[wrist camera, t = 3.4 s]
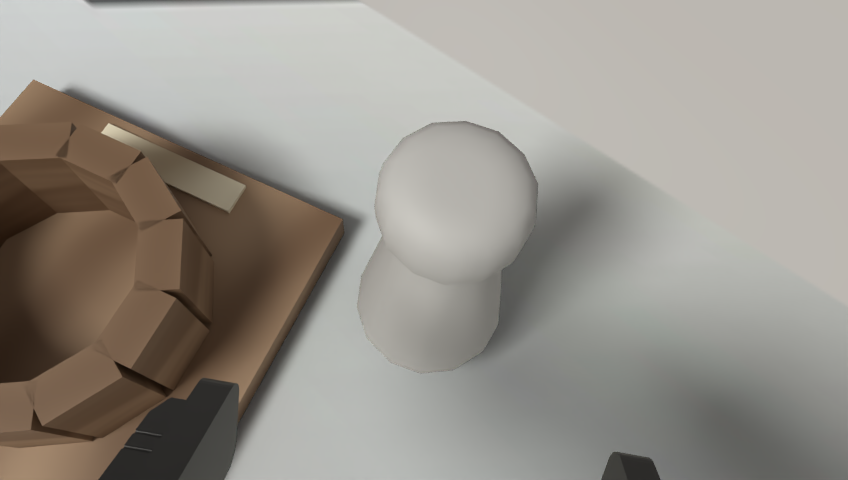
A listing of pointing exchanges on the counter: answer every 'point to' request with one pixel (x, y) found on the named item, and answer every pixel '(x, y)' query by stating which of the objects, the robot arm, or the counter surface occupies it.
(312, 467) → the counter surface
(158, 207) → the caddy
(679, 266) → the counter surface
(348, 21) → the counter surface
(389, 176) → the salt shaker
